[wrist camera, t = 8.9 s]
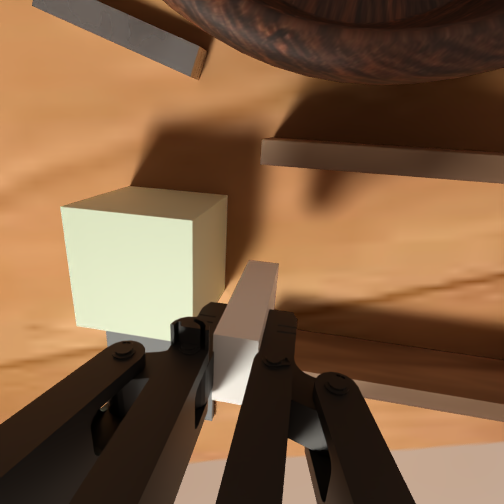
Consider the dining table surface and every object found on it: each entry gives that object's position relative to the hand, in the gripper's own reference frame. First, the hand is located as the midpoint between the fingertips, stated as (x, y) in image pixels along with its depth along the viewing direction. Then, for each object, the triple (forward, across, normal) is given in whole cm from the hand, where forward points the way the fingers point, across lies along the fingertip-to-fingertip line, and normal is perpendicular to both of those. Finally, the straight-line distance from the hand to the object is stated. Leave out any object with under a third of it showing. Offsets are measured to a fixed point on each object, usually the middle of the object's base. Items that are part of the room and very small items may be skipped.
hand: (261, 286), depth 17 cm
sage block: (+7, -7, 0) cm, 10 cm away
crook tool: (+7, -10, +14) cm, 18 cm away
